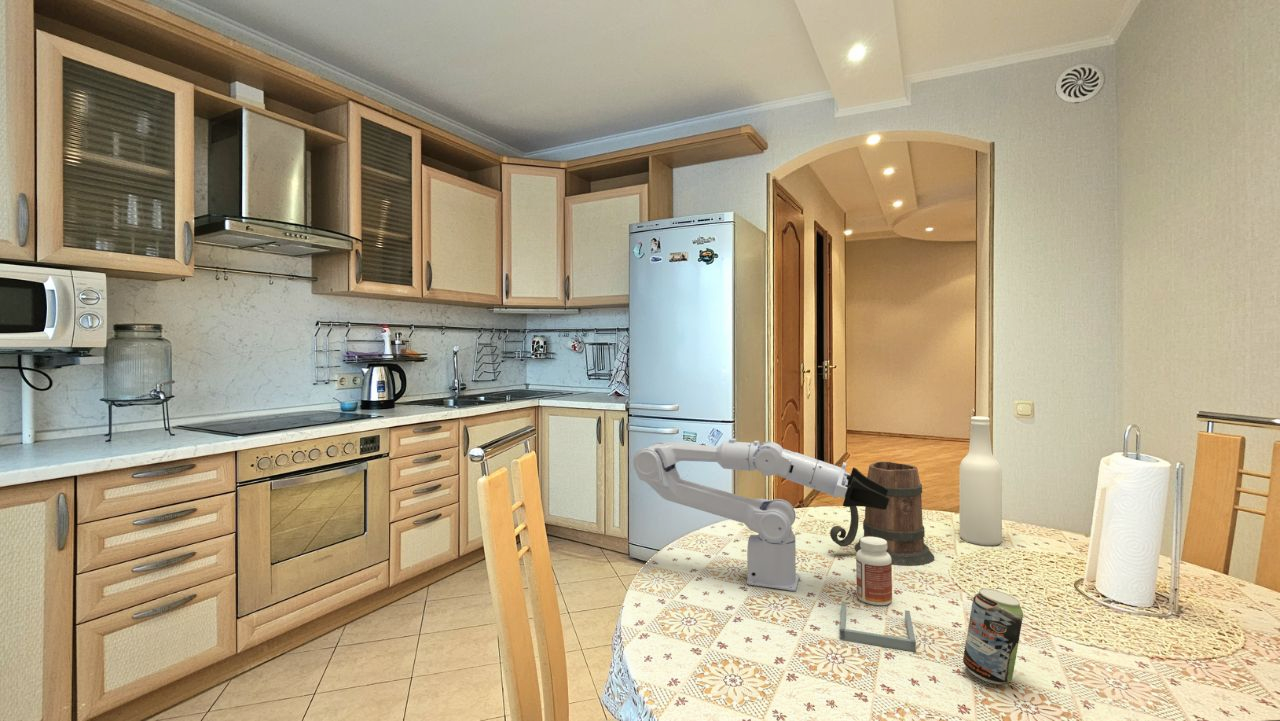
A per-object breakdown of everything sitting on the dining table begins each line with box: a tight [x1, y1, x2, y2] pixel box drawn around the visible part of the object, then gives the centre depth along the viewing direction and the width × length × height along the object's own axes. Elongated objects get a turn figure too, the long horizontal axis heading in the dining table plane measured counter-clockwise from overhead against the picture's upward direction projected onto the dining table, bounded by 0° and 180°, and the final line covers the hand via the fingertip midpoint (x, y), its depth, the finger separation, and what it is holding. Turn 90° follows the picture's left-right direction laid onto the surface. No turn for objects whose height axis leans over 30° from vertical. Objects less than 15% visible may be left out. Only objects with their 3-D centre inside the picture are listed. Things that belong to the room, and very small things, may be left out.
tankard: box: [829, 461, 936, 567], centre depth 127 cm, size 24×17×20 cm
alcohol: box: [958, 415, 1003, 547], centre depth 135 cm, size 9×9×30 cm
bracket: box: [839, 600, 917, 653], centre depth 93 cm, size 11×11×2 cm
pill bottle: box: [855, 536, 893, 606], centre depth 104 cm, size 6×6×11 cm
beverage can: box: [962, 587, 1024, 685], centre depth 79 cm, size 6×7×12 cm
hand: (887, 499), depth 104 cm, fingers open, 7 cm apart
